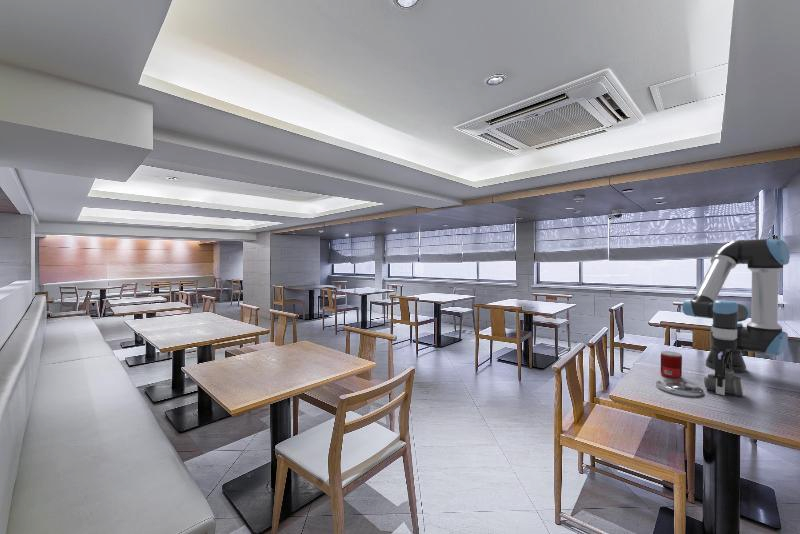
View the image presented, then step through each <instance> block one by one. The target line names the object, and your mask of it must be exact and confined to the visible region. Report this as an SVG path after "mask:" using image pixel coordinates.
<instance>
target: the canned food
mask: <svg viewBox="0 0 800 534" xmlns="http://www.w3.org/2000/svg"><path fill="white" fill-rule="evenodd" d="M682 368H683V354H681V353H680V352H676V351H670V350H669V351H667V350H663V351H661V353H660V374H661V376H662V377H664V378H667V379H673V380H674V379H675V380H676V379H682V375H683V374H682V370H683V369H682Z"/></svg>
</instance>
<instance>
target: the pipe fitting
mask: <svg viewBox="0 0 800 534" xmlns="http://www.w3.org/2000/svg"><path fill="white" fill-rule="evenodd" d="M734 373H735V372H734V371H733V370H732V369H727V368H726V369H725V377H724V378H725V393H732V394H733V395H735V396H736V397H744V383H743V380H742V376H741V375H734ZM714 375H715V372H709V373H708V374H707V375H705V376H704V378H703V383H704V387H705V389H707V390H708V391H714V392H716V378H714V377H713V376H714Z"/></svg>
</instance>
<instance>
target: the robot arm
mask: <svg viewBox="0 0 800 534" xmlns="http://www.w3.org/2000/svg"><path fill="white" fill-rule="evenodd" d="M790 257H791V255H790V251H789V247H788V245H787V243H786V242H785V241H784V239H783V240H782V239H780V238H779V239H778V238H777V239H776V238H775V239H774V238H765V239H738V240H733V241H730V242H729V243H726V244H724V245H723V246H722V247H720V248H719V249H717V251H715V253H714V254H713V255H712V256H711V259H710V266H709V267H708V269H707V271H706V273H705V276H704V278H702V281H701V283H700V285H699V287H698V289H697V290H696V293H695V295H694V297H693V298H692V299H686V300H685V301H683V303H682V306H681V307H682V308H681V309H682V312H683V315H686V316H689V317H694V318H705V319H712V324H711V327H710V350H709V353H708V354H707V357H706V359H705V365H706V367H708V368H711V369H714V373H715V375H714V376H713V377H714V378H716V391H715V394H716V395H722V396H726V392H725V378H724V377H725V369H726V368H727V369H732V370H733V371H734V373H745V372H746V371H747V364H746V362H745V360H744V357H743V355H742V353H743V352H742V351H745V352H749V353H755V354H762V355H765V356H772V357H773V356H774V357H779V356H781V355H783V354H784V352H785V350H786V348H787V345H788V340H789V336H788V335H789V334H788V333H787V332H786V331H783V326H782V325H780V324H779V323H778V311H779V310H778V308H779V273H780V272H781V271H782V270H783V269H784V266H785V265H786V266H787V265H788V264H789V263H790ZM741 264H742V265H747V269H748V270H750V271H751V305H750V306H751V310H750V308H749V307H748V306H747V305H745V304H743V303H737V302H736V301H731V300H717V297H719V294H720V292H721V290H722V288H723V286H724V284H725V282H726V279H727V278H728V276H729V274H730V273H731V270H733V269H734V268H735V269H736V266H737V265H741ZM749 318H751V320H750V321H749V322H748V323H746V326H744V324H743V323H741V322H743V321H744V322H745V321H746V320H748V319H749Z"/></svg>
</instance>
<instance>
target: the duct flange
mask: <svg viewBox="0 0 800 534" xmlns="http://www.w3.org/2000/svg"><path fill="white" fill-rule="evenodd" d="M655 387H656V388H657V389H658V390H660V391H662V392H665V393H667V394H670V395H676V396H679V397H680V396H681V397H688V398H699V397H703V396H704V390H703V388H701V387H699V386H697V385H695V384H692V383H688V382H686V381H680V380H674V379H673V380H672V379H662V380H656V382H655Z"/></svg>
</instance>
